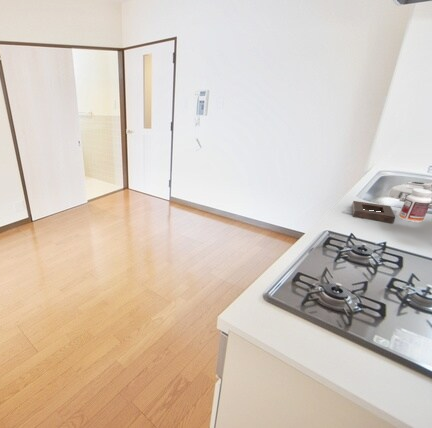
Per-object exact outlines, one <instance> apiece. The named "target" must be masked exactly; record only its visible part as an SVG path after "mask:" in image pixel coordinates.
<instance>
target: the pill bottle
mask: <svg viewBox="0 0 432 428" xmlns="http://www.w3.org/2000/svg"><path fill="white" fill-rule="evenodd" d="M431 194H432V191H429V190H426V189H413V190H412V194H410V195H408V196H407V198H406V200H405V202H403V204H402V207H401V210H400V212H399V215H398V217H399V219H401V220H403V221H406V222H410V223H421V222H423V221H424V220H425V217H426V215H427V213H428V210H429V208H427V207H428V204H429V203H431V201H432V199H431V198H430V197H429V196H431Z"/></svg>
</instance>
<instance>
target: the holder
mask: <svg viewBox="0 0 432 428" xmlns="http://www.w3.org/2000/svg"><path fill="white" fill-rule="evenodd" d="M351 206H352V208H351V213H352V217H353V218H359V219H364V220H371V221H376V222H382V223H388V224H394V221H395V219H396V215H395V213H394V211H393V208H392V206H391V205H386V204H378V203H372V202H365V201H359V200H358V201H357V200H352V204H351ZM363 209H365V210H363ZM369 210H374V211H369ZM376 211H381V212H376Z"/></svg>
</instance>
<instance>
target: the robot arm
mask: <svg viewBox="0 0 432 428" xmlns="http://www.w3.org/2000/svg"><path fill="white" fill-rule="evenodd" d="M413 189H426V190H429V191H432V182H420V181H419V182H418V181H408V182H406V183H402V184H397V185H394V186H392V187H390V190H389V192H388V197H389V198H394V199H396V200H399V202H402V203H404V202H405V200H406V198H407V196H408V195H410V194H412V190H413ZM429 197H430V198H431V199H432V194H431V196H429ZM427 208H428V210H432V201H431V203H429V204H428V207H427Z"/></svg>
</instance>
